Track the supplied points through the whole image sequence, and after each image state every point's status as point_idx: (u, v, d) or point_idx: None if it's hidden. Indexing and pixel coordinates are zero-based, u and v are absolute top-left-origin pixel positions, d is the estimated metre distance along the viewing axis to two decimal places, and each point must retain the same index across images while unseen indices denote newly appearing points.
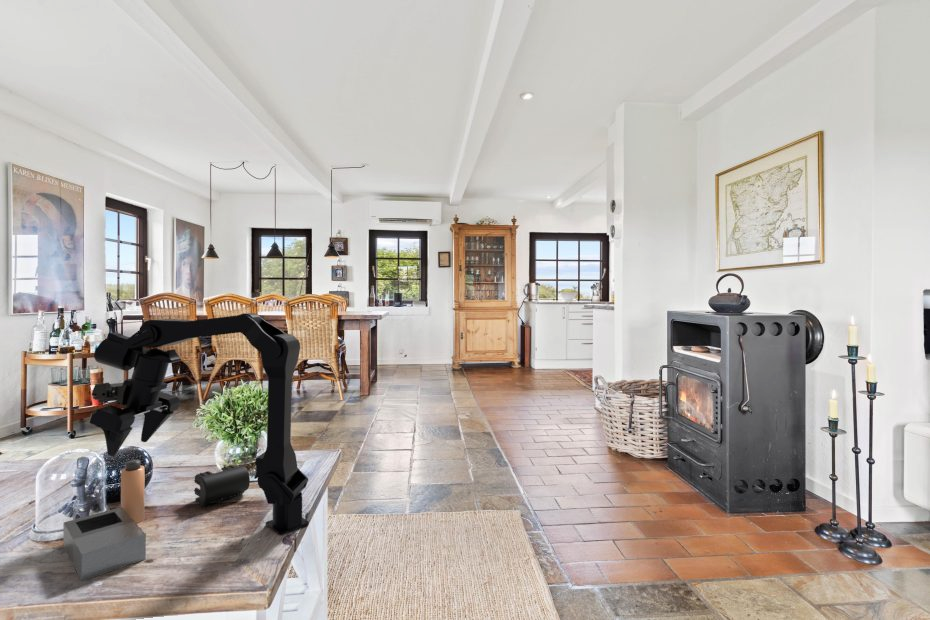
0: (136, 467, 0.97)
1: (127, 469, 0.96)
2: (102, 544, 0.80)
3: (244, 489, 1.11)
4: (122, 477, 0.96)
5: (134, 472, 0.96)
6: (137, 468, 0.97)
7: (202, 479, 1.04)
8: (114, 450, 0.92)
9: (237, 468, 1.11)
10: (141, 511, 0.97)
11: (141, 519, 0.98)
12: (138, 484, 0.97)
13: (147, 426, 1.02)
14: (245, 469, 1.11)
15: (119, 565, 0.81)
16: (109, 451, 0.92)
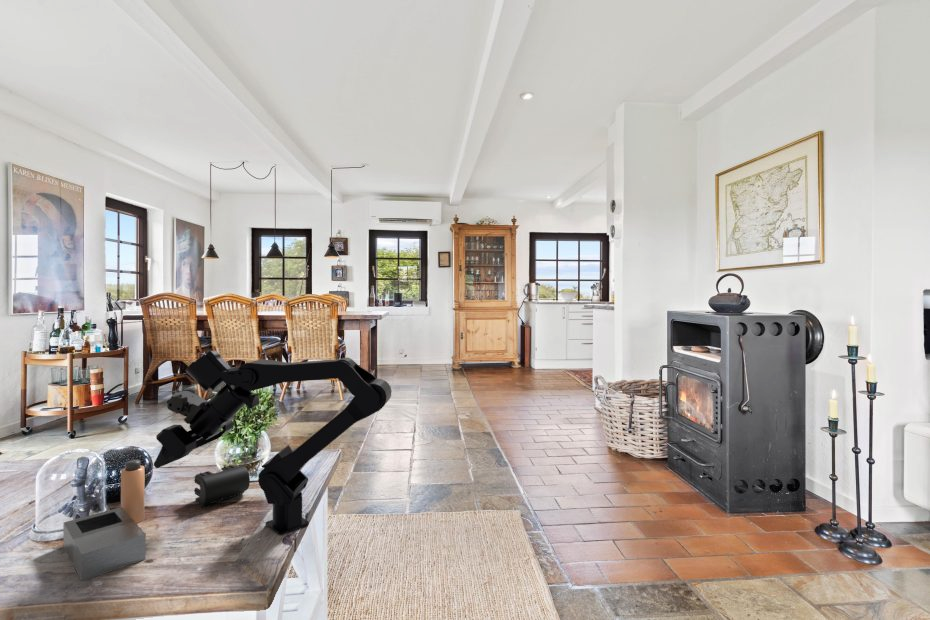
0: (136, 467, 0.97)
1: (127, 469, 0.96)
2: (102, 544, 0.80)
3: (244, 489, 1.11)
4: (122, 477, 0.96)
5: (134, 472, 0.96)
6: (137, 468, 0.97)
7: (202, 479, 1.04)
8: (161, 464, 0.92)
9: (237, 468, 1.11)
10: (141, 511, 0.97)
11: (141, 519, 0.98)
12: (138, 484, 0.97)
13: None
14: (245, 469, 1.11)
15: (119, 565, 0.81)
16: (156, 463, 0.92)
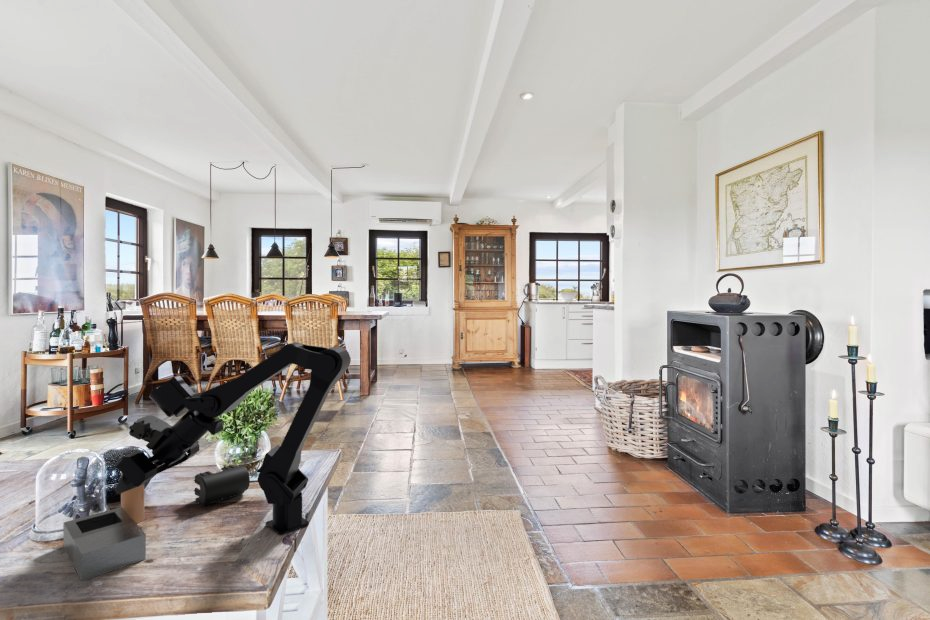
0: None
1: None
2: (102, 544, 0.80)
3: (244, 489, 1.11)
4: None
5: None
6: None
7: (202, 479, 1.04)
8: (122, 491, 0.92)
9: (237, 468, 1.11)
10: (141, 511, 0.97)
11: (141, 519, 0.98)
12: None
13: None
14: (245, 469, 1.11)
15: (119, 565, 0.81)
16: (117, 489, 0.92)
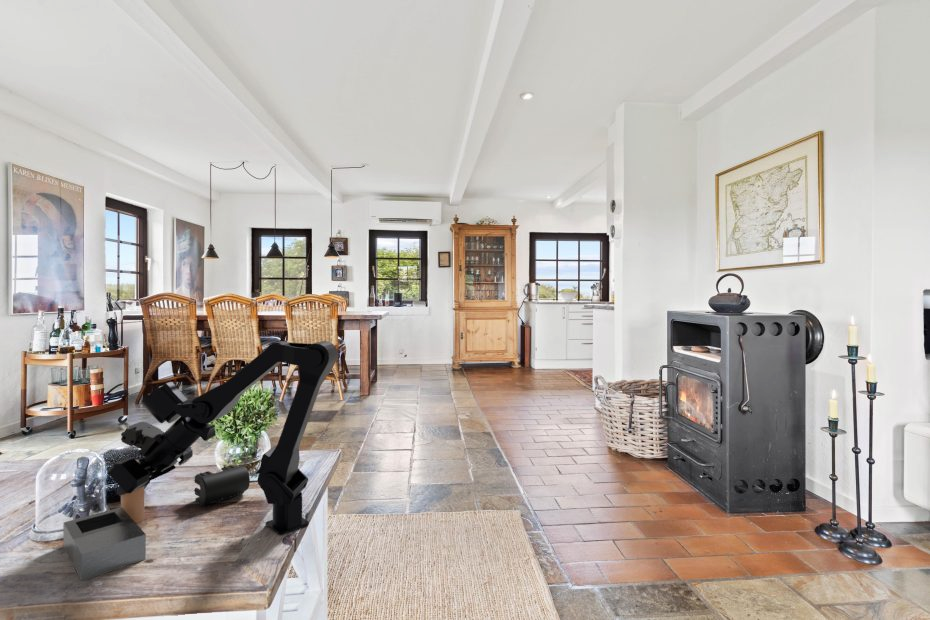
0: None
1: None
2: (102, 544, 0.80)
3: (244, 489, 1.11)
4: None
5: None
6: None
7: (202, 479, 1.04)
8: (124, 492, 0.95)
9: (237, 468, 1.11)
10: (141, 511, 0.97)
11: (141, 519, 0.98)
12: None
13: None
14: (245, 469, 1.11)
15: (119, 565, 0.81)
16: (119, 491, 0.95)
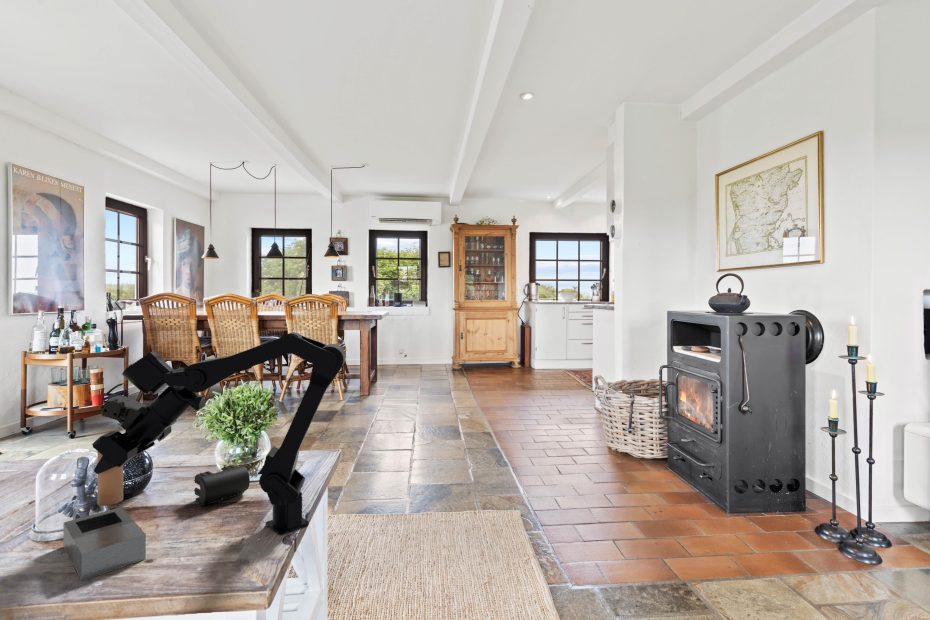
0: None
1: None
2: (102, 544, 0.80)
3: (244, 489, 1.11)
4: (100, 454, 0.89)
5: None
6: None
7: (202, 479, 1.04)
8: (103, 470, 0.88)
9: (237, 468, 1.11)
10: (121, 490, 0.91)
11: (121, 498, 0.91)
12: None
13: None
14: (245, 469, 1.11)
15: (119, 565, 0.81)
16: (97, 468, 0.88)
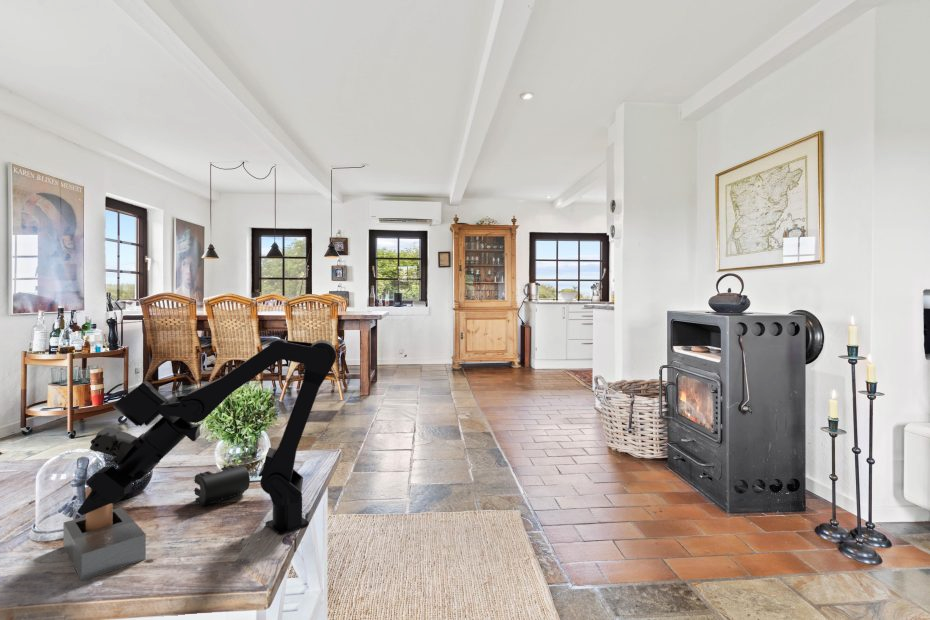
0: None
1: None
2: (102, 544, 0.80)
3: (244, 489, 1.11)
4: None
5: None
6: None
7: (202, 479, 1.04)
8: (88, 510, 0.83)
9: (237, 468, 1.11)
10: None
11: None
12: (108, 504, 0.87)
13: None
14: (245, 469, 1.11)
15: (119, 565, 0.81)
16: (82, 509, 0.83)
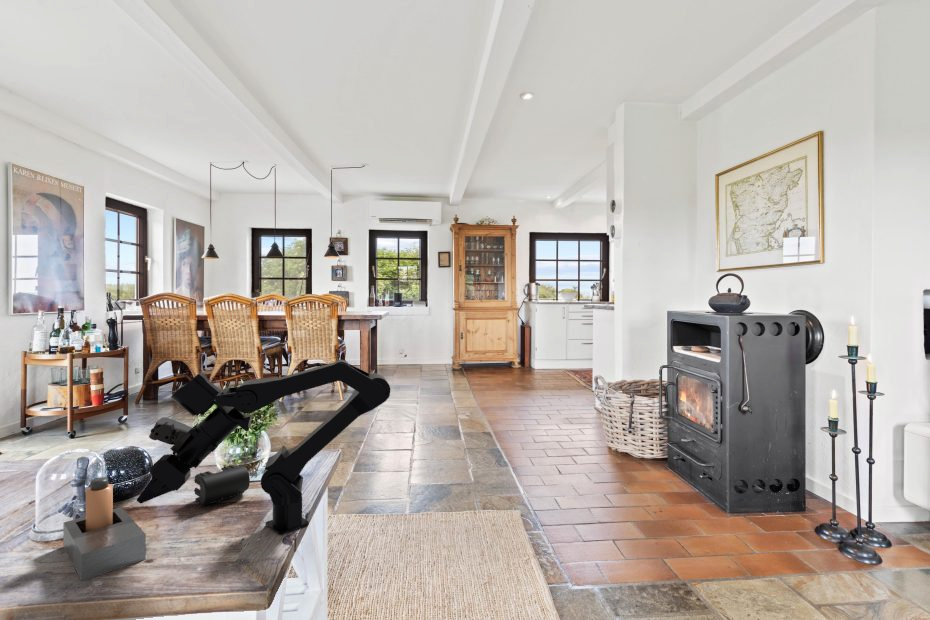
0: (105, 485, 0.87)
1: (94, 489, 0.86)
2: (102, 544, 0.80)
3: (244, 489, 1.11)
4: (89, 498, 0.86)
5: (104, 491, 0.87)
6: (106, 486, 0.88)
7: (202, 479, 1.04)
8: (147, 499, 0.85)
9: (237, 468, 1.11)
10: None
11: None
12: (108, 504, 0.87)
13: None
14: (245, 469, 1.11)
15: (119, 565, 0.81)
16: (141, 498, 0.85)
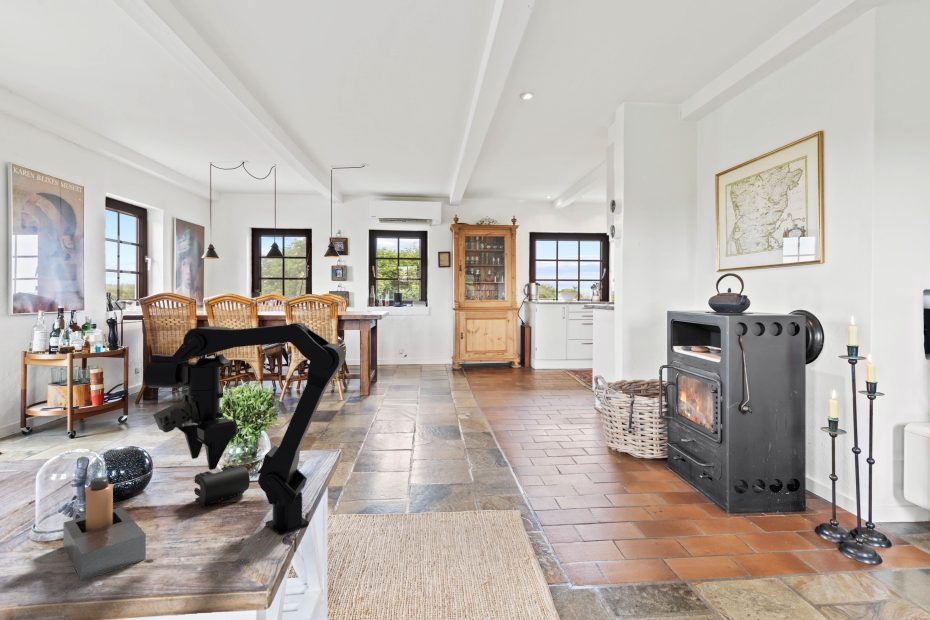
0: (105, 485, 0.87)
1: (94, 489, 0.86)
2: (102, 544, 0.80)
3: (244, 489, 1.11)
4: (89, 498, 0.86)
5: (104, 491, 0.87)
6: (106, 486, 0.88)
7: (202, 479, 1.04)
8: (217, 461, 0.93)
9: (237, 468, 1.11)
10: None
11: None
12: (108, 504, 0.87)
13: (193, 442, 0.99)
14: (245, 469, 1.11)
15: (119, 565, 0.81)
16: (212, 465, 0.92)
